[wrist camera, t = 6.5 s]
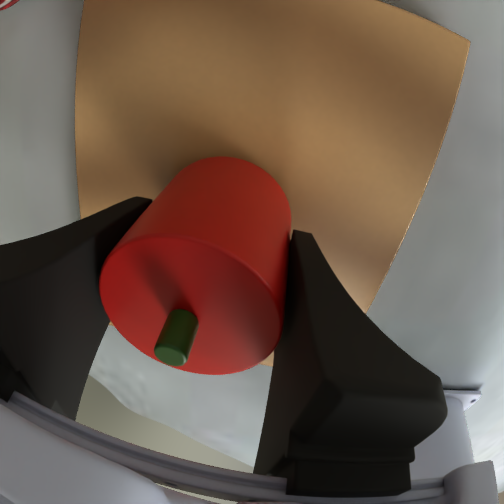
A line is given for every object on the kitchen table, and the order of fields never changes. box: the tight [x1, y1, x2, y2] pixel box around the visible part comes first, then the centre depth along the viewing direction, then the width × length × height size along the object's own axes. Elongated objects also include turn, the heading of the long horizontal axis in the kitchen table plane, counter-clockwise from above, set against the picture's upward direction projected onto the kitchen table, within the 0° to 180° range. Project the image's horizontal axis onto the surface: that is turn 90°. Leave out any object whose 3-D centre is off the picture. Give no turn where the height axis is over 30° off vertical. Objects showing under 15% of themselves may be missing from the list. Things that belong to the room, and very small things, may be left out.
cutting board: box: [75, 0, 470, 367], centre depth 13 cm, size 18×14×2 cm
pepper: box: [99, 156, 291, 375], centre depth 9 cm, size 5×5×6 cm
